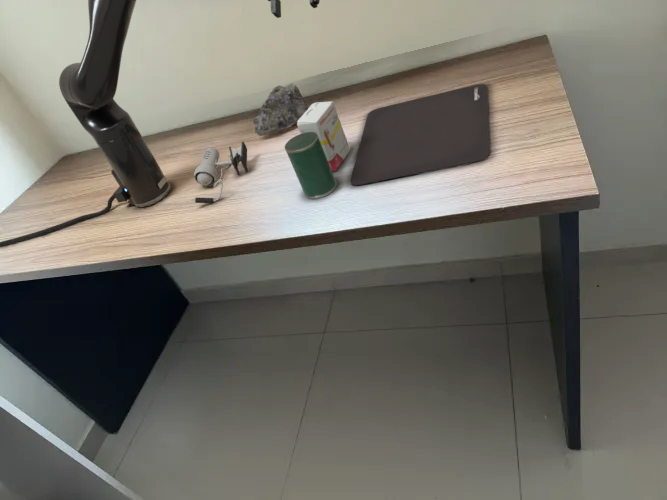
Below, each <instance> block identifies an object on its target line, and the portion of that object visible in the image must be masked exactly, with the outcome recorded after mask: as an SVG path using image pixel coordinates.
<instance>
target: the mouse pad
mask: <svg viewBox="0 0 667 500" xmlns="http://www.w3.org/2000/svg"><path fill="white" fill-rule="evenodd" d="M489 115H490V112H489V89H488V86H487V84H484V83H478V84H474V85H470V86H466V87H460V88H457V89H452V90H449V91H444V92H439V93H436V94H432V95H428V96H423V97H420V98H416V99H412V100H408V101H402V102H399V103H394V104H390V105H387V106H381V107H378V108H375V109H373V110H371V111H370V112H369V113H368V114H367V116H366V120H365V124H364V127H363V131H362V134H361V138H360V142H359V145H358V150H357V153H356V157H355V161H354V165H353V168H352V172H351V176H350V180H349V181H350V184H351V185H352V186H362V185H369V184H372V183H379V182H383V181H388V180H393V179H399V178H403V177H408V176H414V175H419V174H423V173H428V172H433V171H438V170H439V171H440V170H443V169H444V170H445V169H448V168H453V167H458V166H464V165H467V164H473V163H478V162H481V161H484V160H486V159H487V158H489V156H490V154H491V141H490V140H491V139H490V116H489Z"/></svg>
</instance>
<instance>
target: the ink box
mask: <svg viewBox="0 0 667 500" xmlns="http://www.w3.org/2000/svg"><path fill="white" fill-rule="evenodd" d="M296 125H297V128H298V130H299V134H302V133H306V132H315V133H317V135H318V137H319V140H320V143H321V145H322V148H323V150H324V153H325V155H326V158H327V161H328V163H329V166H330V168H331V171H332V173H333V172H334V173H335V172H337V170H338V169H339V168H340V166H341V165H342V163H343V162H344V160H345V159H346V157H347V155H348V154H349V153H350V151H351V147H350V144H349V141H348V140H347V136H346V134H345V131H344V128H343V125H342V122H341V119H340V117H339V114H338V112H337V109H336V106H335V103H334V101H333V100H332V101H318V102H313V103H311V104H310V106H308V110H307V111H306V112H305V113H304V114H303V115H302V116H301V118H300V119H299V120H298V121H297V124H296Z"/></svg>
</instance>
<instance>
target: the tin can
mask: <svg viewBox="0 0 667 500" xmlns="http://www.w3.org/2000/svg"><path fill="white" fill-rule="evenodd" d="M284 149H285V150H284V151H285V152H286V154H287V157H288V158H289V159H288V160H289V161H290V163H291V165H292V168H293V171H294V173H295V175H296V178H297V179H298V182H299V184H300V186H301V189H302V191H303V194H304V196H305V198H307V199H310V200H317V199H321V198H325V197H327V196H329V194H331V193H333V192H334V191H335V189H336V188H337V185H338V183H337V181H336V178H335V176H334V173H333V172H332V171H331V168H330V166H329V163H328V161H327V158H326V155H325V153H324V150H323V148H322V145H321V143H320V140H319V137H318V135H317V133H315V132H306V133H302V134H301V133H299V134H297V135H295V136H293V137H292V138H290V139H289V140H287V141H286V143H285V144H284Z"/></svg>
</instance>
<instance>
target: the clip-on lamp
mask: <svg viewBox="0 0 667 500" xmlns="http://www.w3.org/2000/svg"><path fill="white" fill-rule="evenodd" d="M228 150H229V152H230V154H228V155H227V156H228V158H229V160H224V161H219V159H220V155H221V154H220V152H219V150H218V149H217V148H215V147H212V146H210V147H207V148H205V150H204V152H203V155H202V159H201V161H200V164H199V165H198V166H197V167H196V168H195V170H194V172H193V178H194V181H195V182H196V183H197V184H199V185H200V186H202V187H203V186H204V187H211V186H213V187H217V185H219V183H220V182H221V190H220V194H219V196H218V197H217V198H215V199H214V197H195V199H191V200H190V201H191V202H194V203H196V204H213V203H214V202H217V201H218V200H219V199H220V198H221V196H222V193H223V188H224V187H223V186H224V181H223V178H224V171H225V170H226V171H227V170H229V169H230V168H231V167H233V168H234V170H235V172H236V174H237V176H239V177H240V176H241V172H240V170H239V167H238V166H239V165H240V163H241V165H242V167H243V169H244V171H245V173H249V167H248V166H247V165H248V148H247V145H246V144H245V142H244V141H241V145H240V146H239V147H238V148H237V149H235V148H233V147H232V146H229V147H228ZM225 166H226V167H225ZM218 167H222V168H221V169H220V172H221V173H220V178H219V179H218V171H217V168H218Z"/></svg>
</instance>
